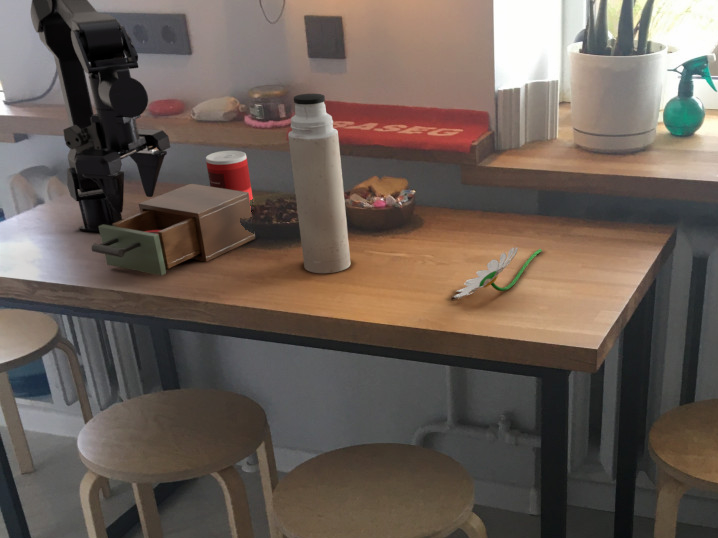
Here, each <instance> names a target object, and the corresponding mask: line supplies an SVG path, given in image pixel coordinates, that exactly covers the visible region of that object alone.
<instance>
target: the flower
mask: <svg viewBox="0 0 718 538" xmlns="http://www.w3.org/2000/svg"><path fill="white" fill-rule="evenodd" d="M518 250H519V247H518V246H517V247H511V248H510V249H509V250H508V253H506V252H502V253H501V254H500V256H499V260H498V259H495V258H494V259H491V260H490V261H489V262H488V263H487V264H486V267H487V269H481V270H480V269H479V270H477V271H476V272H475V274H476V276H477V277H473V278H470V279H467V280H465V282H464V283H463V285H464V286H466V287H463V288H461V289H458V290H455V293H456V292H457V293H458V294H455V295H452V301H455V300H460V299H463V298H465V297H467V296H470V295H471V294H474V293H476V292H477V291H479V290H480V289H482V288H483V289H484V288H488V287H489V286H491V287H492V288H493V289H495V290H496V291H499V292H505V291H508V290H510V289H511V288H513V287H514V285H516V283H517V281H518V280H519V278H520V277H521V275H522V274H523V272H525V270H526V268H527V267H528V265H529V264H530V263H531V261H532V260H533V259H534V258H535V257H537V255H539V254H540V253H542V248H539V249H537V250H536V251H534V253H532V254H531V255H530V256H529V258H527V260H526V261H525V262H524V263H523V265H522V267H521V268H520V269H519V271H518V273H517V274H516V275H515V276H514V279H512V280H511V282H510V283H509V284H508V285H506V286H504V287H500V286H498V285H497V284H495V281H497V279H498V277H499V275H500V274H501V273H502V272H503V271H504V270H505V269H506V268H507V267H508V266H509V265H510V263H511V261H512V260H513V259H514V258H515V257H516V255H517V253H518Z"/></svg>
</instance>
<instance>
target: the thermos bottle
mask: <svg viewBox="0 0 718 538" xmlns="http://www.w3.org/2000/svg"><path fill="white" fill-rule="evenodd" d="M325 97H326V96H325V95H324V94H321V93H301V94H297V95H295V96H293V103H294V104H295V105H294V112H295V113H294V115H292V117H291V118H290V128H291V131H289V132H288V145H289V153H290V161H291V169H292V170H291V171H292V176H293V185H294V186H293V187H294V193H295V194H294V195H295V202H296V211H297V217H298V226H299V227H298V228H299V236H300V243H301V244H300V245H301V250H302V259H303V267H304V269H305V270H306V271H308V272H310V273H314V274H332V273H338V272H342V271H345V270H346V269H348V268H349V267H350V266H351V254H350V245H349V233H348V222H347V215H346V214H347V213H346V202H345V192H344V191H345V190H344V180H343V171H342V162H341V161H342V160H341V151H340V140H339V131H338V129H336V128H334V120H333V116H332V115H331V114H329V113H327V109H326V103H325V102H326V98H325Z"/></svg>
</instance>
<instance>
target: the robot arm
mask: <svg viewBox="0 0 718 538" xmlns="http://www.w3.org/2000/svg"><path fill="white" fill-rule="evenodd" d="M30 4H31V5H30V17H31V19H30V20H31V22H32V25H33V28H34V31H35V32H36V33H37V34H38V36H39V40H40V41H41V43H42V44H43V45H44V46H45V47H46V49H47V50H48V51H49V52H50V53H51V55H53V59H54V62H55V67H56V70H57V71H56V72H57V76H58V80H59V85H60V88H61V89H60V90H61V94H62V98H63V101H64V102H63V103H64V107H65V110H66V117H67V119H68V123H69V124H68V125H69V126H68V127H66V128H64V129H63V130H62V132H63V138H64V142H65V145H66V146H67V148H69V151H68V153H67V160H68V165H69V167H67V169H66V170H67V173H66V174H67V175H66V176H67V177H66V185H67V189H68V192H69V195H70V197H71V198H72V199H73V200H74V201H75V202H78V205H79V209H80V215H81V219H82V223H83V225H81V226H79V227H78V230H79V231H82V232H93V233H100V232H99V227H98V226H100V225H103V224H104V225H110V226H113V223H116V222H118V221H121V220H123V217H122V213H123V209H124V195H125V194H124V190H125V171H122V165H123V163H122V160H123V159H125V158H128V157H130V159H132V161H133V162H134V163H135V165H136V167H137V170H138V174H139V177H140V181H141V184H142V187H143V191H144V194H145V197H148V198H153V196H154V194H155V190H156V187H157V182H158V179H159V175H160V171H161V170H162V169H161V168H162V165H163V162H164V159H165V156H166V155H167V154H168V151H167V150H168V149H170V148H171V143H170V138H169V135H168V133H166V132H165V131H164V130H163V129H145V128H144V129H143V128H139V129H138V124H137V119H140V118H141V117H142V114H143V113H144V112H146V109H147V107H148V103H149V95H148V92H147V90H146V88H145V86H144V84H143V83H141V81H139V80H137V79H135V78H134V77H131V76H132V75H131V72H130V70H132V69H133V70H134V69H139V63H138V61H139V55H138V52H137V50H136V48H135V45H134V43H133V40H132V38H131V36H130V34H129V33H128V32H127V30H126V28H125V26H124V25H121V23H120V21H119V20H118V19H117V18H116V17H114V16H112V14H108V13H101V12H98V10H97V9H96V8H95V7H94V6H93V5H92V3H91V2H90V1H89V0H31V3H30ZM86 74H88V81H89V86H90V90H89V86H88V81H87V76H86ZM90 91H91V95H92V100H93V104H94V105H92V100H91V95H90ZM93 106H94V109H93ZM94 110H95V113H94Z"/></svg>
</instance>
